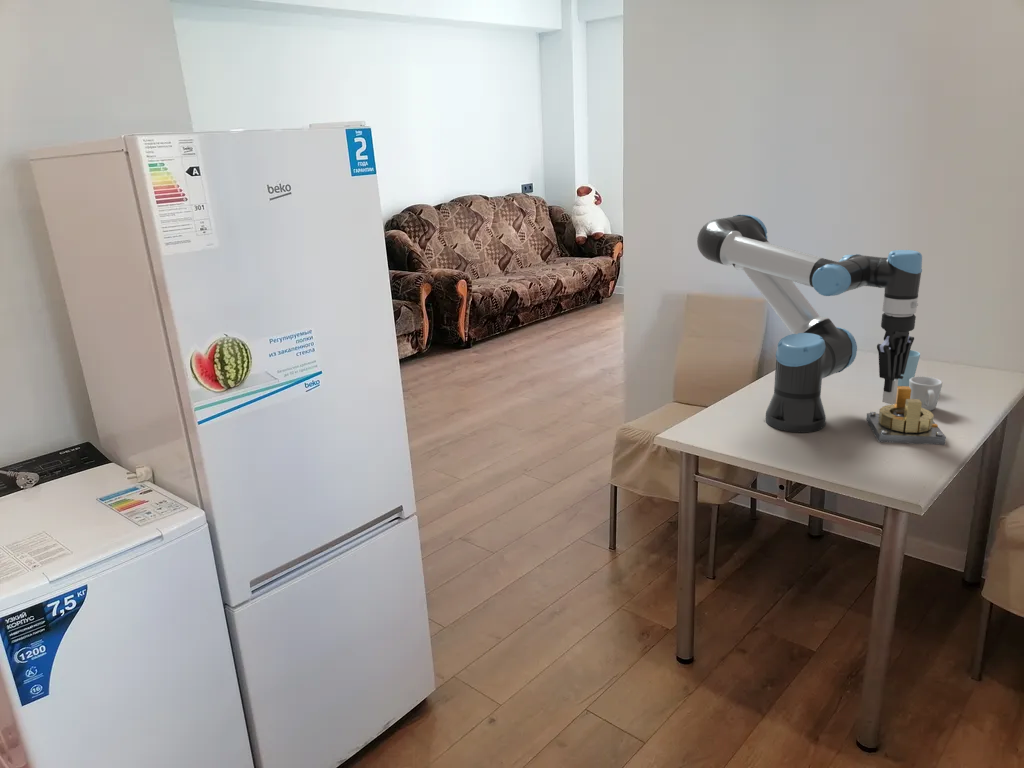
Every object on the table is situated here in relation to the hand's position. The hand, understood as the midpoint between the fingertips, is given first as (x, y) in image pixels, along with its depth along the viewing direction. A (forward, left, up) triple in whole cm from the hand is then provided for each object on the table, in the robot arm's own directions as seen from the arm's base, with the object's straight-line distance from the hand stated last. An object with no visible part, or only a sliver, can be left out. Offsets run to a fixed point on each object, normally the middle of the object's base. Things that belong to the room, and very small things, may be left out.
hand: (888, 402), depth 196 cm
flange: (+4, -3, -7) cm, 8 cm away
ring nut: (+4, -3, -4) cm, 7 cm away
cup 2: (+13, +14, -7) cm, 20 cm away
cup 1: (+12, +34, -7) cm, 36 cm away
